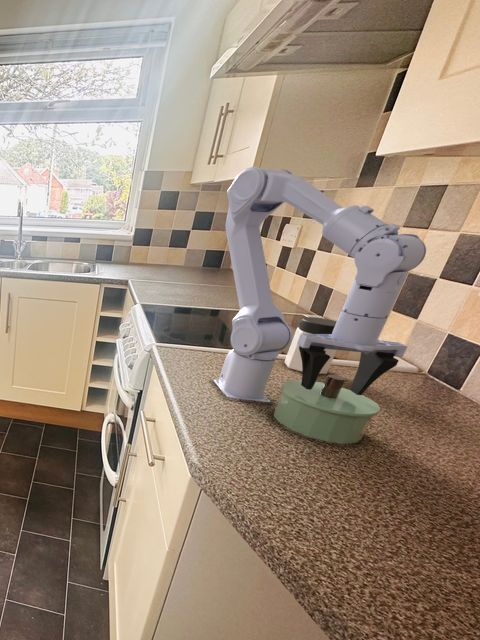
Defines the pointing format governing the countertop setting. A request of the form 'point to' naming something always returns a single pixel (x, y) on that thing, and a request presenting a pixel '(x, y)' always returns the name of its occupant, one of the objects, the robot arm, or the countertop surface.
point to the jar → (310, 327)
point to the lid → (331, 397)
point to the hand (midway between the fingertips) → (330, 390)
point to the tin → (320, 421)
